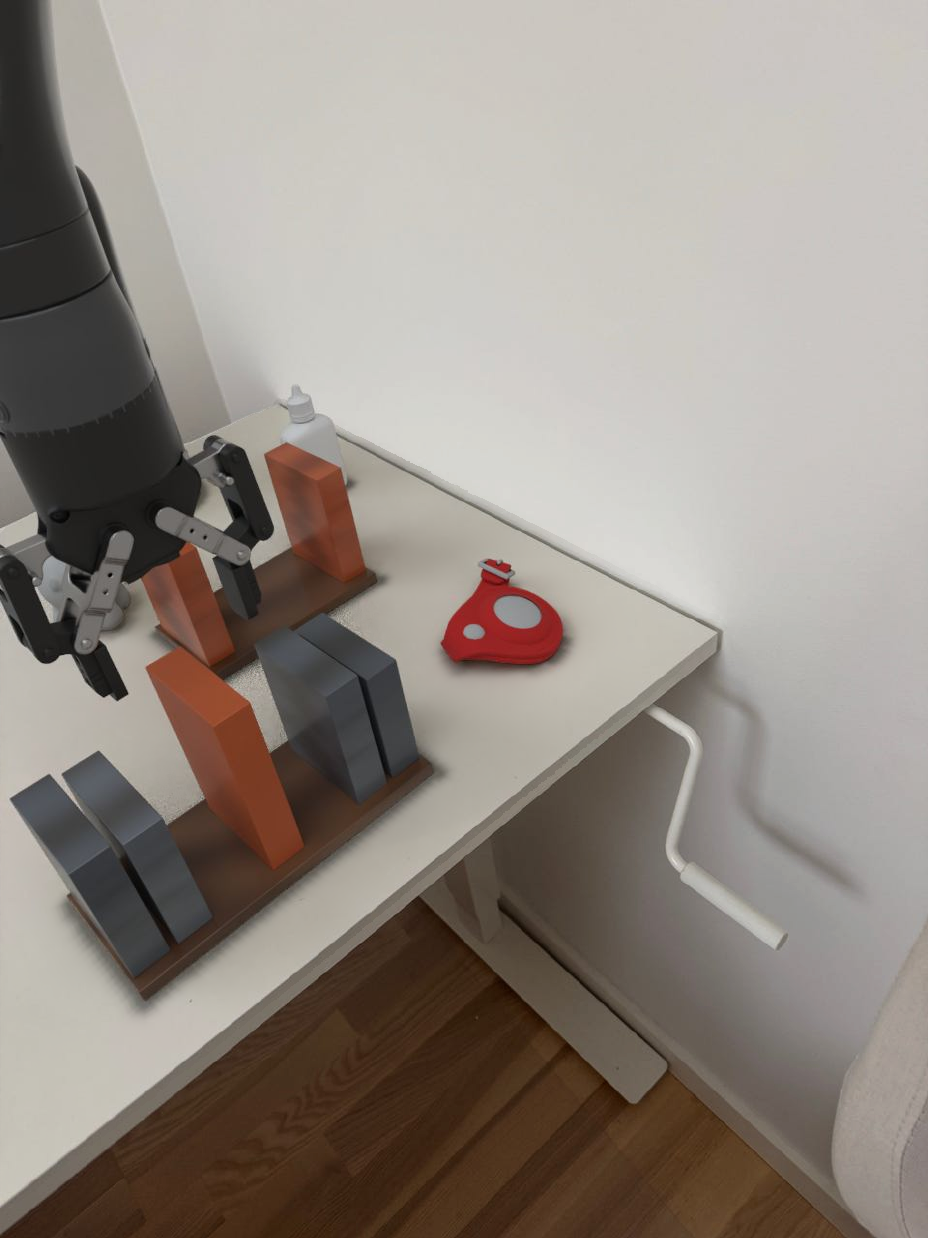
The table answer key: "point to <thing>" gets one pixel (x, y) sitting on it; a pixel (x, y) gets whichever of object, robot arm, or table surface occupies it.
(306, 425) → the eye dropper bottle
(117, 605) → the toy rhinoceros
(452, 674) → the table surface
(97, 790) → the grey rack
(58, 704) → the table surface
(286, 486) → the orange rack
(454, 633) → the tracker holder
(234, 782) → the orange book
